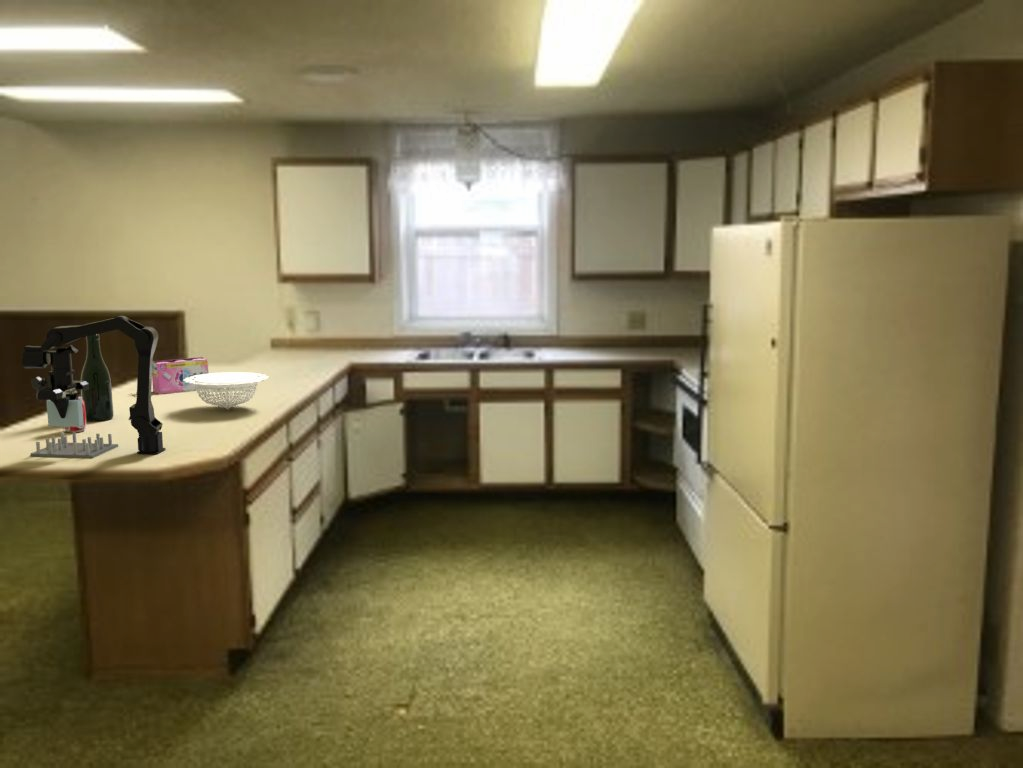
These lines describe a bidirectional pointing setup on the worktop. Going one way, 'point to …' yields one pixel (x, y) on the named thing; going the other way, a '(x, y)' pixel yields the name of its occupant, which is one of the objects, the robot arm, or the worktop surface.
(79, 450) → the dish rack
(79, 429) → the soda can
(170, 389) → the gum box
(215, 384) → the colander
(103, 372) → the dark green wine bottle
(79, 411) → the light blue rectangular slab
